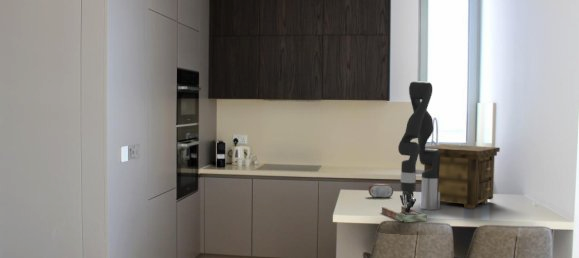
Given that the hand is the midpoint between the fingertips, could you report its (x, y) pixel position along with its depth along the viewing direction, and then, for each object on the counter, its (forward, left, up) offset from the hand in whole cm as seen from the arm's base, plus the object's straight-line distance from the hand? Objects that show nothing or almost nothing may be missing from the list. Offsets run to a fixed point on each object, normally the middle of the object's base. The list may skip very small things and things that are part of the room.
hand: (407, 215), depth 290 cm
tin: (-15, -61, -2) cm, 63 cm away
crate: (-52, -34, -2) cm, 62 cm away
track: (0, -4, -2) cm, 4 cm away
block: (0, +4, -2) cm, 5 cm away
